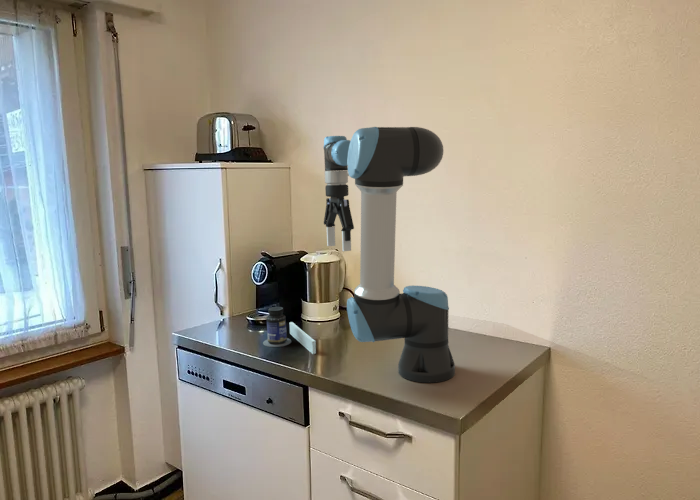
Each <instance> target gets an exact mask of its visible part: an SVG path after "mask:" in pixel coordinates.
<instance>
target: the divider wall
mask: <svg viewBox="0 0 700 500" xmlns="http://www.w3.org/2000/svg"><path fill="white" fill-rule="evenodd" d="M289 334H290V335H291V336H292V338H294V339H295V340H296V341H297V342H298V343H300V344H301V346H303V347H304V348H305V349H306V350H307V351H308V352H309V353H310V354H312V355H315V354H317V344H316V342H317V341H316V340H315V339H313V337H312V336H310V335H309V334H307V333H306V332H305V331H304V330H303V329H301V328H300V327H299V326H298V325H296V323H294V322H293V321H290V322H289Z"/></svg>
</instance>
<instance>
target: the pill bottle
mask: <svg viewBox="0 0 700 500" xmlns="http://www.w3.org/2000/svg"><path fill="white" fill-rule="evenodd" d="M267 313H268V316H267V317H266V329H267V330H266V331H267V339H268V342H269V343H270V344H282V343H285V342H286V341H287V338H288V337H287V336H288V335H287V321H286V319H287V318H286V315H285V314H283V313H284V307H282V306H273V307H269V308H268V312H267Z"/></svg>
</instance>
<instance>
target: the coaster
mask: <svg viewBox="0 0 700 500" xmlns="http://www.w3.org/2000/svg"><path fill="white" fill-rule="evenodd" d="M291 343H292V340H291V339H290V338H288V337H287V341H286V342H285V343H282V344H270V343H269V342H268V338H267V339H265V340H264V341H263V342H262V344H263V346H264V347H267V348H281V347H285V346H288V345H290V344H291Z"/></svg>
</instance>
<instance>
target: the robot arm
mask: <svg viewBox="0 0 700 500" xmlns="http://www.w3.org/2000/svg"><path fill="white" fill-rule="evenodd" d="M323 154H324V156H323V157H324V183H325V184H326V185H325V197H326V201H325V202H326V203H325V205H326V206H325V212H324V218H323V225H325V227H326V243H327V244H326V246H327V247H335V246H336V224H335V222H336V218H337V216H338V218H339V221H340V224H341V227H342V228H341V238H342V241H341V242H342V243H341V246H342V252H351V251H352V235H351V232H352V230H354V229H355V226H354V221H353V217H352V212H351V208H350V201H349V199H345V197H348V196H349V185H348V183H349V177H350V178H351V179H354V186H356V187H357V188H358V190H359V191H360V262H359V263H360V265H359V266H360V269H359V271H360V273H359V274H360V275H359V276H360V277H359V278H360V279H359V284H358V285H357V286H356V287H355V288H354V289H353V297H352V296H351V297H348V298H347V300H346V313H347V318H348V323H349V326H350V329H351V332H352V335H353V337H354V338H355V339H356V340H357V341H358V342H359V343H360V342H361V343H366V342H367V343H370V342H372V343H375V342H380V341H389V340H399V339H404V340H403V341H404V343H403V344H404V345H403V348H402V351H401V354H400V358H399V361H398V367H397V368H398V371H397V372H398V375H400V376H401V377H402V378H404V379H406V380H408V381H411V382H412V381H413V382H418V383H423V384H424V383H430V384H431V383H440V382H445V381H447V380H450V379H452V378H454V376H455V374H456V364H455V361H454V359H453V356H452V353H451V349H450V346H449V310H450V307H449V297H448V294H447V293H446V292H445V291H443V290H441V289H439V288H435V287H433V286H432V287H431V286H426V285H425V286H424V285H407V286H405V287H403V289H402V292H403V293H400V289H399V287H397V286H396V285H395V259H396V257H395V256H396V254H395V253H396V228H397V227H396V224H397V223H396V222H397V221H396V220H397V219H396V218H397V216H396V215H397V192H399V190H400V189H401V188H402V187H404V177H415V176H416V177H417V176H422V175H424V174H427V173H430V172H432V171H433V170H434V169H436V168H437V167H438V166H439V165H440V163H441V162H442V160H443V158H444V157H443V156H444V145H443V142H442V140H441V138H440V137H439V136H438V134H436V133H435V132H434V131H432V130H430V129H428V128H424V127H421V126H410V127H409V126H400V127H399V126H393V127H392V126H391V127H390V126H371V127H362V128H358V129H357V130H355V132H354V133H353V135H352V136H351V139H350V140H349V139H347V136H345V135H330V136H325V137H324V138H323ZM328 197H329V198H328Z"/></svg>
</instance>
